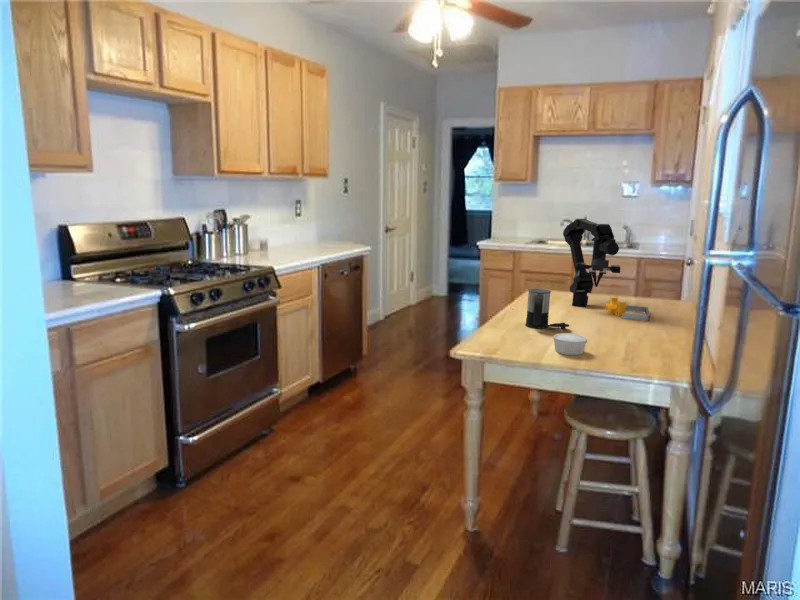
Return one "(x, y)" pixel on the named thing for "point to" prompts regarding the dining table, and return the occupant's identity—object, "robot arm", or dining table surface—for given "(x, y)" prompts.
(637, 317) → the rail bay
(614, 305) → the pipe clamp
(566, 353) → the ramekin
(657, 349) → the dining table surface
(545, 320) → the milk frother
